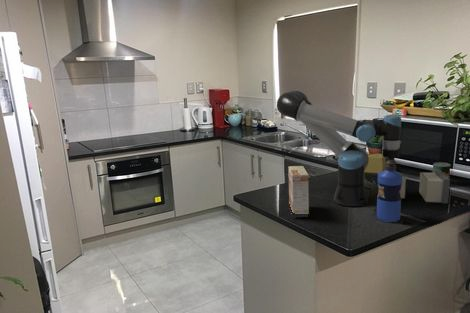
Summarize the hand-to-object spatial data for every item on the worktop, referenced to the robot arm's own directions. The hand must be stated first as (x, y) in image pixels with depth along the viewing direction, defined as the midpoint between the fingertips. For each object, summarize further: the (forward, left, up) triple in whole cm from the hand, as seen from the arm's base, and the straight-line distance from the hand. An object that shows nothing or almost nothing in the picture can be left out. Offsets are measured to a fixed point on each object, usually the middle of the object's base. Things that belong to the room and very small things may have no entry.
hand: (389, 194), depth 179 cm
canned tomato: (+28, +20, -1) cm, 34 cm away
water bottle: (-4, -29, -1) cm, 29 cm away
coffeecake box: (-41, -26, -1) cm, 49 cm away
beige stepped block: (+19, 0, 0) cm, 19 cm away
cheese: (-1, +45, -1) cm, 45 cm away
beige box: (+2, 0, 0) cm, 2 cm away
